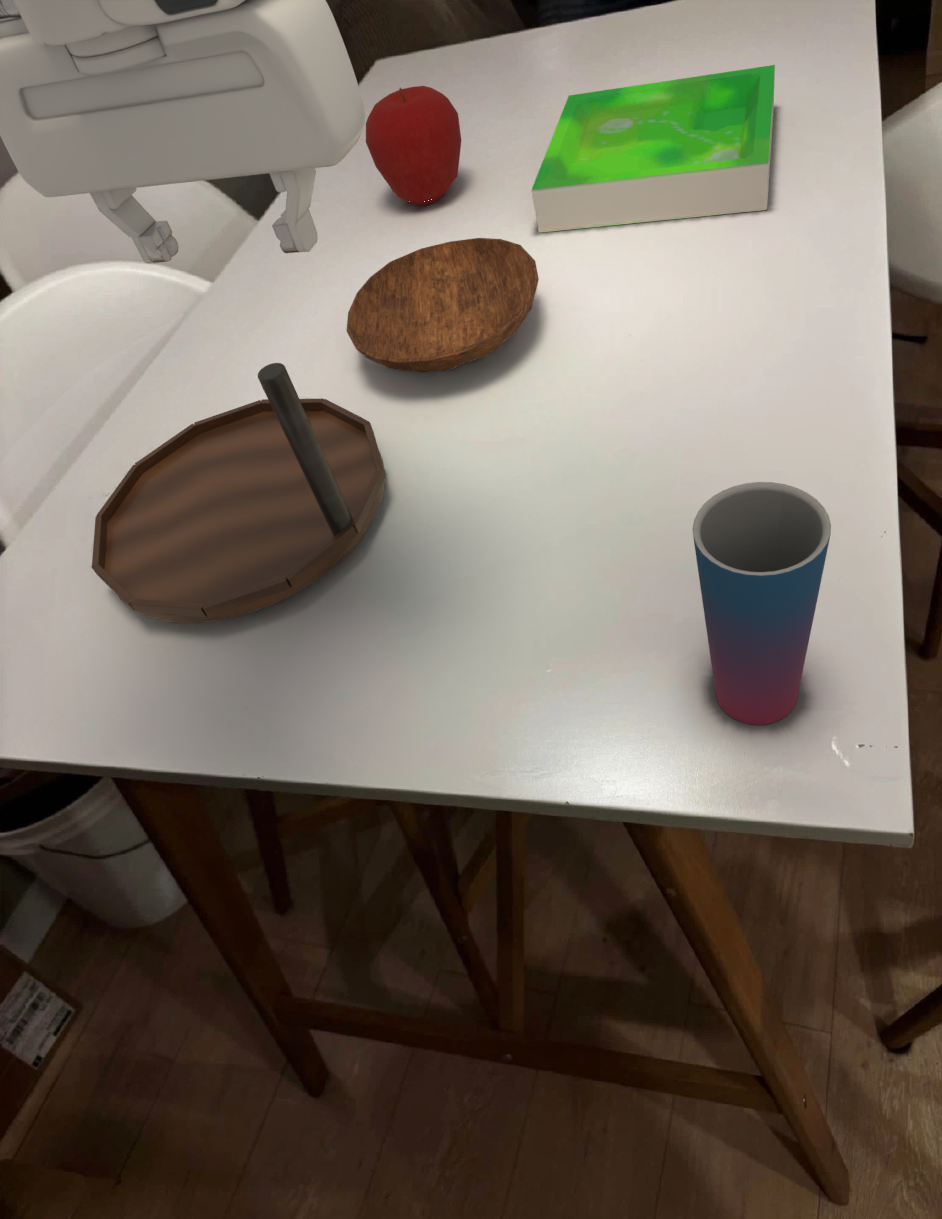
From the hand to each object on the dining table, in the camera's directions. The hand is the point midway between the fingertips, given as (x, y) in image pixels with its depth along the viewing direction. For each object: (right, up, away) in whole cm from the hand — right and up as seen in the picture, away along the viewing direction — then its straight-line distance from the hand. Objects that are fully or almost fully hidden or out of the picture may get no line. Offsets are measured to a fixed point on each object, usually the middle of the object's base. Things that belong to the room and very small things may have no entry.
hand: (230, 253), depth 51 cm
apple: (+8, +33, +65) cm, 73 cm away
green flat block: (+36, +32, +56) cm, 74 cm away
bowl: (+12, +8, +42) cm, 44 cm away
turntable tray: (-6, -11, +28) cm, 31 cm away
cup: (+32, -26, +6) cm, 42 cm away
